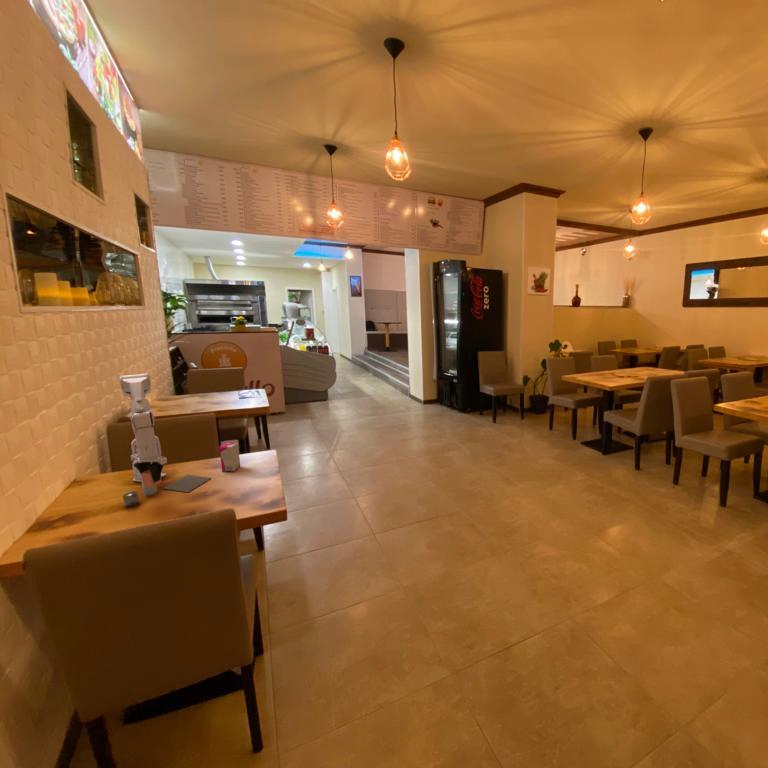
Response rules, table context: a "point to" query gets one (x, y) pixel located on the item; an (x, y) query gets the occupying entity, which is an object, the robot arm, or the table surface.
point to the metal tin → (131, 499)
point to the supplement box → (229, 457)
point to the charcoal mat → (187, 483)
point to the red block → (149, 479)
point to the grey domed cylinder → (149, 490)
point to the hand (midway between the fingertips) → (152, 480)
